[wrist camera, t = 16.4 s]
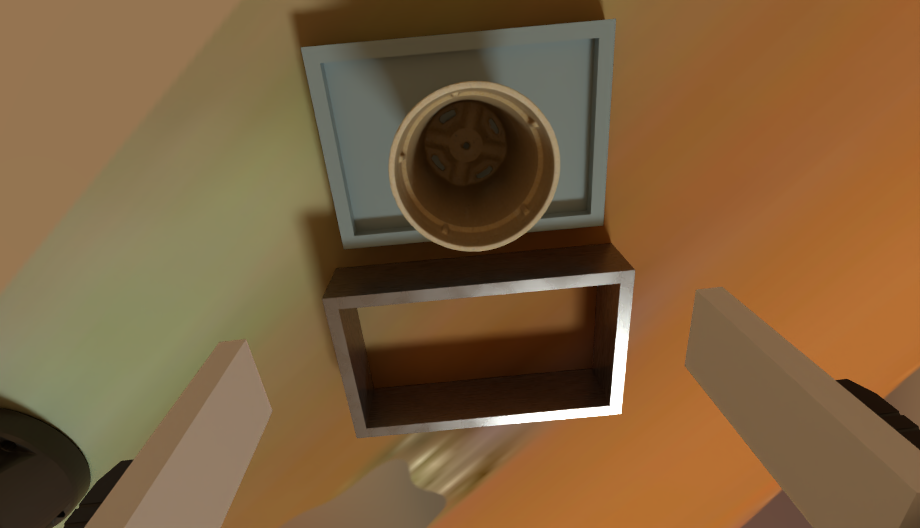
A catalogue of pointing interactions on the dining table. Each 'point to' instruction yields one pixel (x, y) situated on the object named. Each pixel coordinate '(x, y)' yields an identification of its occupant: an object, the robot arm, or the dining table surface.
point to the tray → (438, 65)
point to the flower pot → (474, 166)
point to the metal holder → (486, 396)
